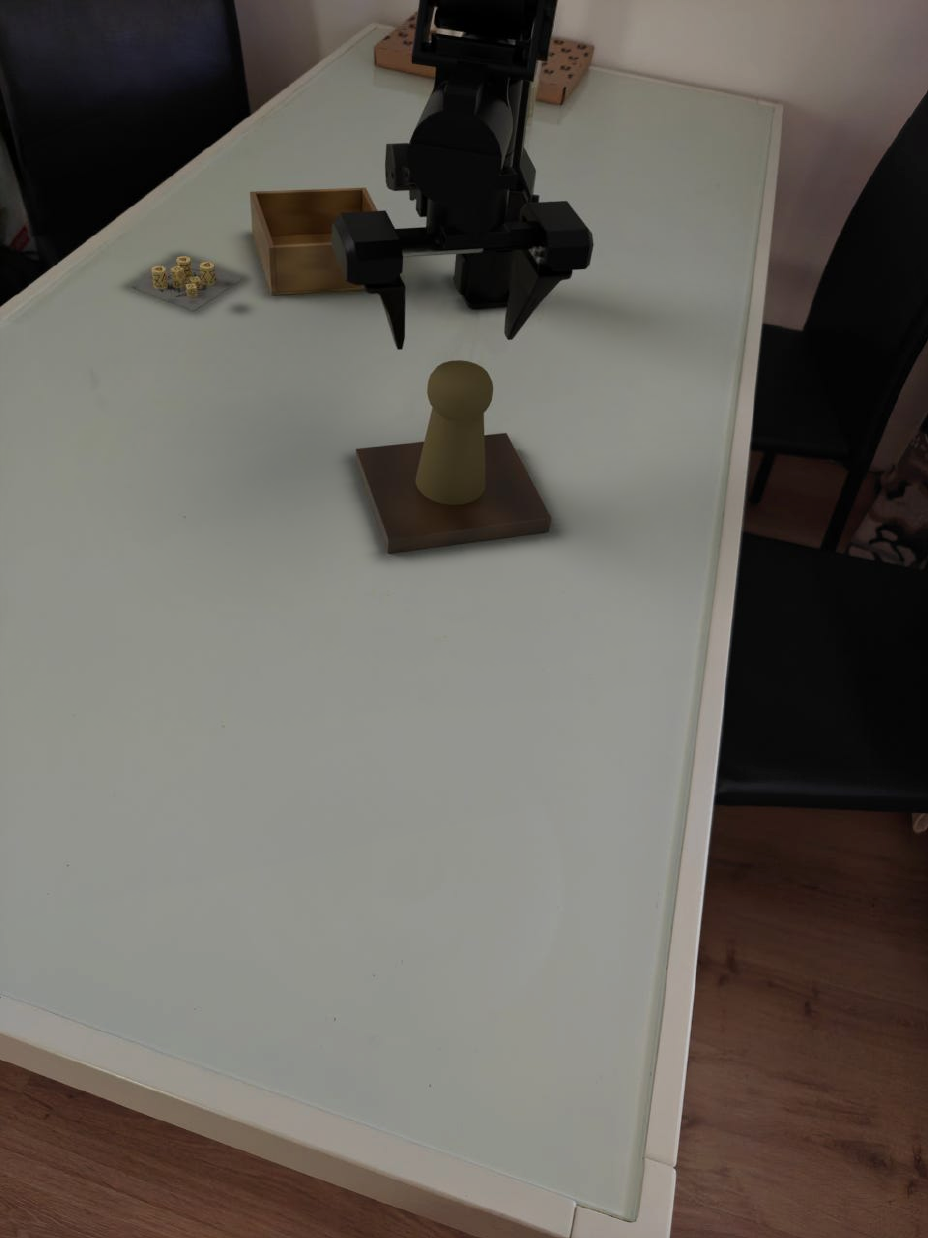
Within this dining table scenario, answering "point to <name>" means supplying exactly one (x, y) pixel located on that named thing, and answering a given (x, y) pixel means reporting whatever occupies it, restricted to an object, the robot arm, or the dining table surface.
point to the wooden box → (302, 237)
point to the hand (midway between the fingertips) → (454, 341)
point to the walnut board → (431, 524)
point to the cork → (455, 434)
